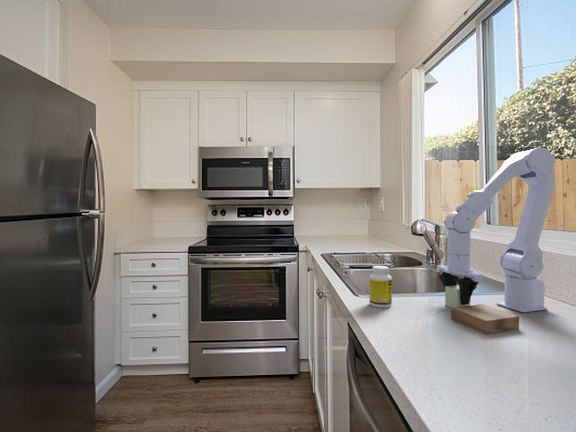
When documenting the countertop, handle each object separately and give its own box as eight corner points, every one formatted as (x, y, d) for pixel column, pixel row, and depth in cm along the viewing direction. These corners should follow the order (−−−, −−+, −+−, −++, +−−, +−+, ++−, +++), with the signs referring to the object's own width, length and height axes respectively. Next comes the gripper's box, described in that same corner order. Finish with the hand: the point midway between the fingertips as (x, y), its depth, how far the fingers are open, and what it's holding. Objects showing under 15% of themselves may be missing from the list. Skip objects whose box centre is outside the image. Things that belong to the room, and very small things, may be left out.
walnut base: (481, 315, 87) (482, 304, 87) (518, 329, 78) (519, 316, 77) (451, 319, 84) (451, 307, 84) (486, 334, 74) (486, 320, 74)
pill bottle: (392, 309, 92) (393, 269, 92) (369, 307, 94) (370, 268, 93) (390, 302, 98) (391, 265, 98) (369, 301, 100) (369, 264, 99)
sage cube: (457, 303, 97) (457, 285, 97) (470, 308, 93) (470, 288, 93) (445, 305, 96) (445, 286, 96) (457, 309, 92) (457, 290, 92)
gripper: (428, 251, 100) (427, 296, 100) (468, 258, 86) (467, 310, 86) (447, 250, 102) (446, 294, 102) (489, 257, 88) (488, 308, 89)
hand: (457, 301), depth 95 cm, fingers closed on sage cube, 4 cm apart
